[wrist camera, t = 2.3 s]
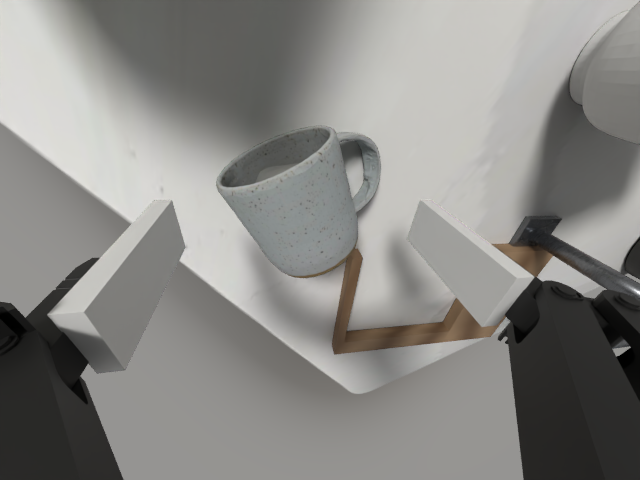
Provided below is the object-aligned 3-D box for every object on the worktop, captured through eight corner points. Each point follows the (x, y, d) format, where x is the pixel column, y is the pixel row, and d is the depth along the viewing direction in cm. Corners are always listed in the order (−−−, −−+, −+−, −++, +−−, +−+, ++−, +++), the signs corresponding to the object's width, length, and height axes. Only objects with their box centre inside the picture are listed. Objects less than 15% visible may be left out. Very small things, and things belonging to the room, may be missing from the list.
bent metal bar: (556, 216, 26) (778, 323, 14) (535, 246, 28) (714, 359, 17) (414, 217, 23) (553, 353, 12) (403, 251, 25) (511, 393, 14)
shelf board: (544, 242, 28) (557, 250, 27) (483, 328, 37) (490, 336, 35) (348, 249, 24) (352, 258, 23) (331, 343, 32) (334, 354, 31)
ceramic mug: (275, 241, 22) (278, 306, 16) (223, 158, 17) (198, 203, 11) (382, 196, 21) (430, 244, 15) (359, 96, 17) (414, 106, 10)
